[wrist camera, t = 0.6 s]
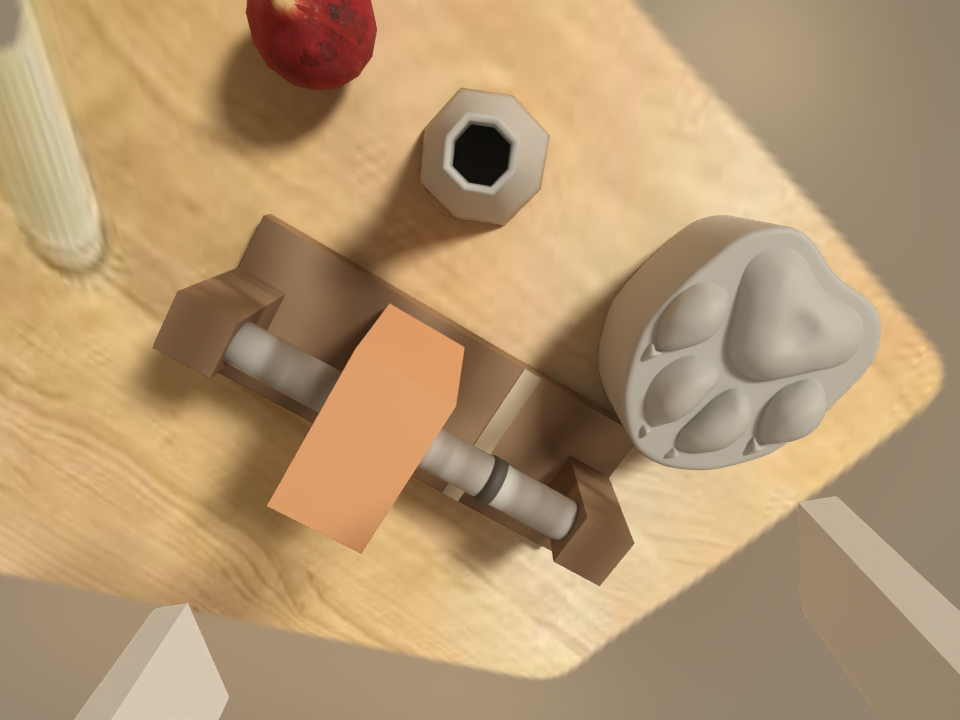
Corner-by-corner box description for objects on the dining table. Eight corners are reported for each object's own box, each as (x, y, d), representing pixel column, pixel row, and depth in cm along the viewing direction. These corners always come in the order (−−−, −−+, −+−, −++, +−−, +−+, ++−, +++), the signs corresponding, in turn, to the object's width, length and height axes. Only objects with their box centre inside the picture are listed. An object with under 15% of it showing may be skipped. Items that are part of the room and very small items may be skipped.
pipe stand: (204, 353, 37) (127, 403, 29) (271, 214, 34) (205, 227, 26) (550, 540, 41) (564, 628, 33) (635, 428, 38) (673, 495, 30)
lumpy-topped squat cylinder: (830, 309, 35) (933, 351, 27) (670, 453, 38) (720, 530, 30) (714, 190, 33) (787, 197, 25) (556, 353, 36) (575, 406, 28)
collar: (320, 425, 36) (266, 505, 27) (389, 303, 33) (355, 349, 25) (391, 464, 37) (361, 553, 28) (464, 347, 34) (456, 406, 26)
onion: (396, -8, 30) (365, -67, 23) (377, 109, 32) (342, 90, 25) (285, -36, 30) (216, -106, 22) (272, 83, 32) (204, 56, 24)
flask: (511, 246, 34) (519, 275, 25) (399, 189, 34) (362, 196, 24) (571, 127, 32) (604, 110, 23) (453, 63, 31) (437, 17, 22)
